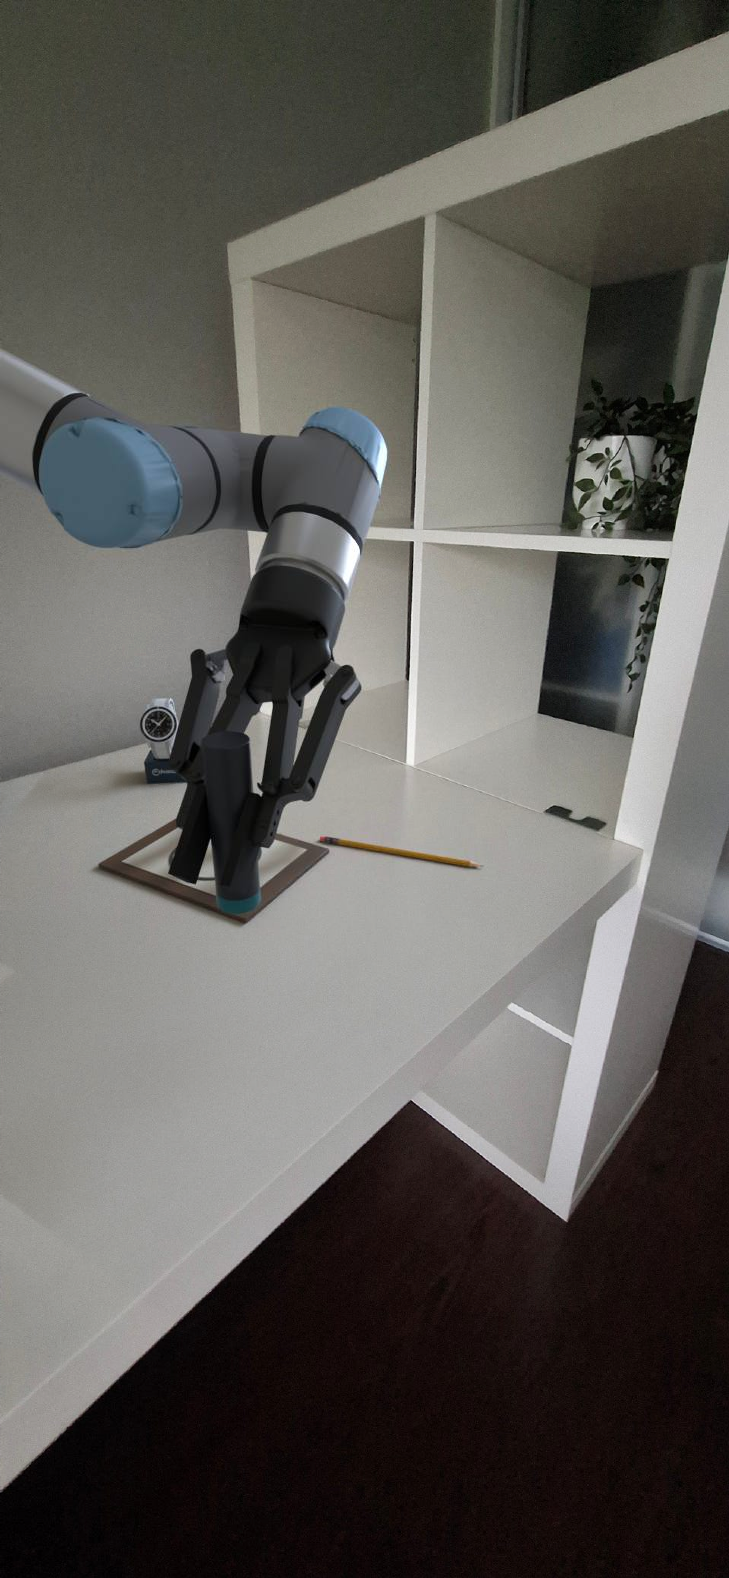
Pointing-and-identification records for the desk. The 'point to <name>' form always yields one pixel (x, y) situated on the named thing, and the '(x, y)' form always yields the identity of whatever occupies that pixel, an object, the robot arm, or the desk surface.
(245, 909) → the marker
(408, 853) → the pencil
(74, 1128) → the desk surface
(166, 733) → the watch
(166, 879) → the sketch board
